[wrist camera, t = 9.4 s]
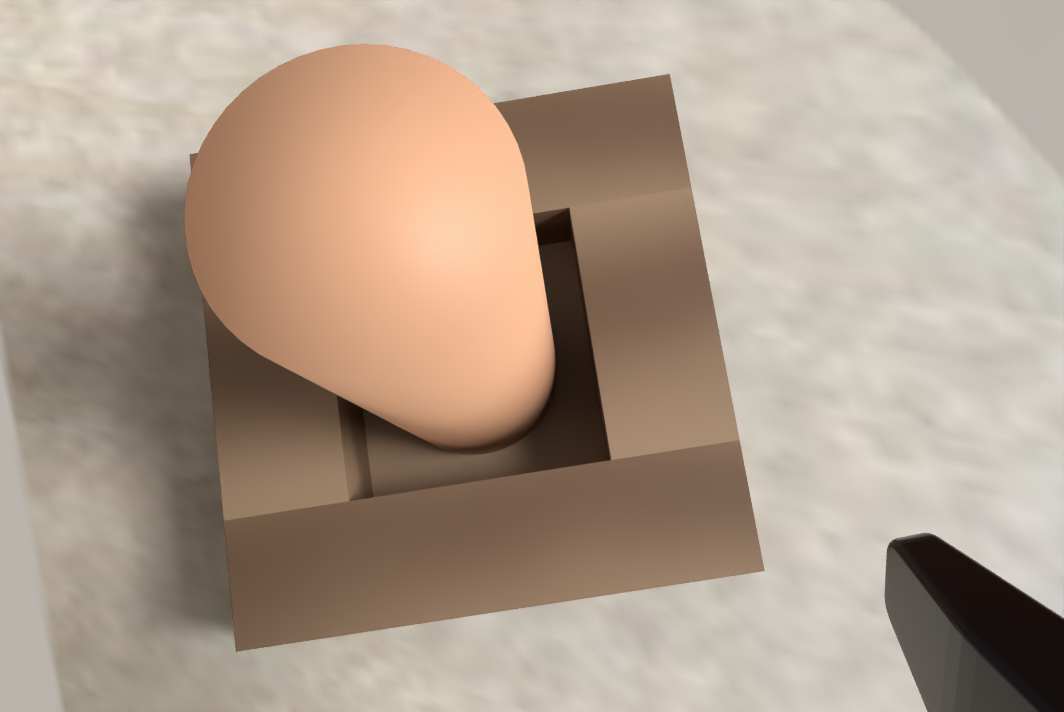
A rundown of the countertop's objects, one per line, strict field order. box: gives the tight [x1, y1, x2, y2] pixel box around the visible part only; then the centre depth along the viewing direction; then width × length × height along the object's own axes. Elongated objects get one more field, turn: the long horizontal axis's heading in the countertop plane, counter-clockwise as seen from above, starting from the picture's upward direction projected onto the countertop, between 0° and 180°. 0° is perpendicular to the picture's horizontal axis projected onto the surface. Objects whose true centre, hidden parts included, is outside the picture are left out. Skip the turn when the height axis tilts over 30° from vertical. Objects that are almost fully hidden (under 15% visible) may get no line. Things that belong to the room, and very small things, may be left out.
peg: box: [184, 44, 557, 455], centre depth 17 cm, size 4×4×12 cm
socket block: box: [190, 74, 764, 651], centre depth 23 cm, size 11×11×3 cm
